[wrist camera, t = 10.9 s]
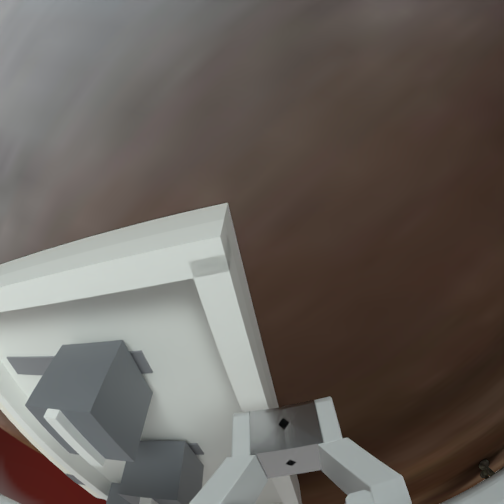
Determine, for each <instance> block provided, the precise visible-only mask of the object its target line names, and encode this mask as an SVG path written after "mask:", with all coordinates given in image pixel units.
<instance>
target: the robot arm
mask: <svg viewBox="0 0 504 504" xmlns="http://www.w3.org/2000/svg"><path fill="white" fill-rule="evenodd" d="M318 470H322V472H323V473H324V474H325V475H326V476H327V477H329V478H330V479H331V480H332V481H333V482H334V483H335V484H336V485H337V486H338V487H339V488H340V489H341V490H342V491H343V492H345V493H346V494H347V495H348V496H347V497H346V499H345V504H412V502H411V499H410V496H409V493H408V490H407V487H406V484H405V481H404V478H403V476H401V475H400V474H398V473H397V472H395V471H394V470H393V469H391V468H390V467H388V466H387V465H385V464H384V463H382V462H381V461H379V460H378V459H377V458H375V457H374V456H372V455H371V454H370V453H368V452H367V451H365V450H364V449H363V448H361V447H360V446H359V445H357V444H356V443H355V442H353V441H352V440H350V439H349V438H348V437H347V438H342V434H341V430H340V426H339V423H338V419H337V415H336V412H335V408H334V404H333V401H332V398H331V397H330V396H329V397H325V398H321V399H317V400H310V401H306V402H301V403H297V404H292V405H287V406H282V407H279V408H272V409H265V410H257V411H249V412H241V413H234V415H233V422H232V454H231V457H227V458H226V459H225V460H224V461H223V463H222V464H221V465H220V467H219V468H218V469H217V470H216V472H215V473H214V474H213V475H212V477H211V478H210V479H209V480H208V481H207V483H206V484H205V485H204V486H203V488H202V489H201V490H200V491H199V492H198V493H197V495H196V496H195V497H194V498H193V499H192V501H191V502H190V503H189V504H254V503H255V502H256V500H257V498H258V497H259V495H260V493H261V492H262V490H263V488H264V486H265V485H266V483H267V481H268V479H269V478H276V477H282V476H288V475H293V474H300V473H306V472H312V471H318ZM0 504H20V503H18V502H16V501H14V500H12V499H10V498H8V497H6V496H4V495H2V494H0ZM440 504H504V468H503V469H502V470H500V471H499V472H497V473H496V474H494V475H492V476H491V477H489V478H487V479H486V480H484V481H482V482H481V483H479V484H477V485H475V486H474V487H472V488H470V489H468V490H466V491H464V492H462V493H460V494H459V495H457V496H455V497H453V498H451V499H448V500H446V501H444V502H442V503H440Z"/></svg>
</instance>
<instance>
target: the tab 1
mask: <svg viewBox="0 0 504 504" xmlns="http://www.w3.org/2000/svg"><path fill="white" fill-rule="evenodd" d="M152 395H153V392H152V390H151V388H150V387H149V385H148V384H147V382H146V380H145V379H144V377H143V375H142V373H141V372H140V370H139V368H138V366H137V365H136V363H135V361H134V359H133V358H132V356H131V354H130V352H129V350H128V348H127V347H126V345H125V343H124V341H123V340H115V341H104V342H93V343H81V344H68V345H62V346H61V348H60V349H59V351H58V352H57V354H56V355H55V357H54V358H53V360H52V361H51V363H50V364H49V366H48V368H47V369H46V371H45V372H44V374H43V376H42V377H41V379H40V380H39V382H38V384H37V385H36V387H35V389H34V390H33V392H32V394H31V395H30V397H29V399H28V400H27V402H26V404H25V406H26V407H27V408H28V410H29V411H30V412H31V413H32V414H33V415H34V417H35V418H36V419H37V420H38V421H39V422H40V423H41V425H42V426H43V427H44V428H45V429H46V430H47V431H48V432H49V433H50V434H51V435H52V436H53V437H54V438H55V439H56V440H57V441H58V442H59V443H60V444H61V445H62V446H63V447H64V448H65V449H66V450H67V451H68V452H69V453H71V454H77V455H80V456H81V457H82V458H84V459H85V460H86V461H87V462H88V463H89V464H90V465H93V466H99V467H103V466H104V463H105V459H110V460H119V461H129V462H135V459H136V455H137V451H138V447H139V443H140V439H141V435H142V431H143V427H144V424H145V420H146V416H147V413H148V409H149V405H150V402H151V398H152Z"/></svg>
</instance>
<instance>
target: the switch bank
mask: <svg viewBox="0 0 504 504" xmlns="http://www.w3.org/2000/svg"><path fill="white" fill-rule="evenodd" d="M115 340H123V341H124V343H125V345H126V347H127V348H128V350H129V352H130V354H131V356H132V358H133V359H134V361H135V363H136V365H137V366H138V368H139V370H140V372H141V373H142V375H143V377H144V379H145V380H146V382H147V384H148V385H149V387H150V388H151V390H152V392H153V395H152V398H151V402H150V405H149V409H148V413H147V416H146V420H145V424H144V427H143V431H142V435H141V439H140V441H186V443H187V444H188V445H189V447H190V448H191V449H192V451H193V452H194V453H195V455H196V456H197V457H198V459H199V460H200V461H201V463H202V464H203V465H204V470H203V481H202V488H203V486H204V485H205V484H206V483H207V481H208V480H209V479H210V478H211V477H212V475H213V474H214V473H215V472H216V470H217V469H218V468H219V467H220V465H221V464H222V463H223V461H224V460H225V459H226V458H227V457H231V454H232V422H233V415H234V413H241V412H249V411H257V410H265V409H272V408H279V406H278V402H277V398H276V394H275V390H274V387H273V383H272V379H271V375H270V371H269V367H268V363H267V359H266V355H265V351H264V348H263V344H262V340H261V336H260V332H259V328H258V324H257V320H256V316H255V312H254V308H253V304H252V300H251V296H250V292H249V288H248V284H247V280H246V276H245V272H244V267H243V263H242V259H241V255H240V251H239V247H238V243H237V239H236V235H235V231H234V226H233V222H232V218H231V214H230V210H229V206H228V203H224V204H219V205H215V206H210V207H206V208H201V209H197V210H193V211H188V212H184V213H180V214H176V215H172V216H167V217H163V218H159V219H155V220H151V221H147V222H143V223H139V224H136V225H132V226H128V227H124V228H120V229H117V230H113V231H109V232H106V233H102V234H98V235H95V236H91V237H88V238H84V239H81V240H77V241H74V242H70V243H67V244H64V245H60V246H57V247H54V248H50V249H47V250H44V251H41V252H37V253H34V254H31V255H28V256H25V257H22V258H19V259H15V260H12V261H9V262H6V263H3V264H0V409H1V411H2V412H3V413H4V414H5V415H6V416H7V417H8V419H9V420H10V421H11V422H12V423H13V424H14V425H15V426H16V427H17V429H18V430H19V431H20V432H21V433H22V434H23V435H24V436H25V437H26V438H27V439H28V440H29V441H30V442H31V443H32V444H33V445H34V446H35V447H36V448H37V449H38V450H39V451H40V452H41V453H42V454H44V455H45V456H46V457H47V458H48V459H49V460H50V461H51V462H53V464H55V465H56V466H57V467H58V468H59V469H61V470H62V471H63V472H64V473H65V474H66V475H67V476H68V477H69V478H71V479H72V480H73V481H74V482H76V483H77V484H79V485H80V486H82V487H83V488H84V489H85V490H87V491H88V492H89V493H91V494H92V495H94V496H95V497H96V498H101V499H105V500H106V501H107V498H108V494H109V491H110V487H111V483H112V482H113V483H120V482H121V478H122V475H123V471H124V467H125V463H126V461H119V460H110V459H105V463H104V466H103V467H99V466H93V465H90V464H89V463H88V462H87V461H86V460H85V459H84V458H82V457H81V456H80V455H77V454H71V453H69V452H68V451H67V450H66V449H65V448H64V447H63V446H62V445H61V444H60V443H59V442H58V441H57V440H56V439H55V438H54V437H53V436H52V435H51V434H50V433H49V432H48V431H47V430H46V429H45V428H44V427H43V426H42V425H41V423H40V422H39V421H38V420H37V419H36V418H35V417H34V415H33V414H32V413H31V412H30V411H29V410H28V408H27V407H26V406H25V404H26V402H27V400H28V399H29V397H30V395H31V394H32V392H33V390H34V389H35V387H36V385H37V384H38V382H39V380H40V379H41V377H42V376H43V374H44V372H45V371H46V369H47V368H48V366H49V364H50V363H51V361H52V360H53V358H54V357H55V355H56V354H57V352H58V351H59V349H60V348H61V346H62V345H68V344H81V343H93V342H104V341H115ZM254 504H302V502H301V494H300V486H299V481H298V478H297V474H293V475H288V476H282V477H276V478H269V479H268V481H267V483H266V485H265V486H264V488H263V490H262V492H261V493H260V495H259V497H258V498H257V500H256V502H255V503H254Z"/></svg>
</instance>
